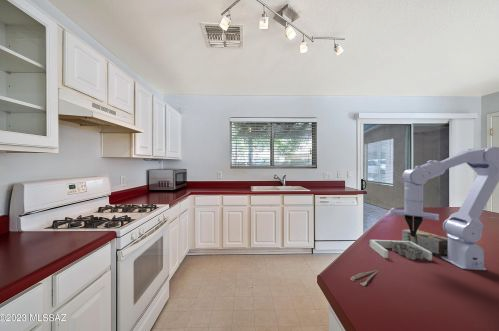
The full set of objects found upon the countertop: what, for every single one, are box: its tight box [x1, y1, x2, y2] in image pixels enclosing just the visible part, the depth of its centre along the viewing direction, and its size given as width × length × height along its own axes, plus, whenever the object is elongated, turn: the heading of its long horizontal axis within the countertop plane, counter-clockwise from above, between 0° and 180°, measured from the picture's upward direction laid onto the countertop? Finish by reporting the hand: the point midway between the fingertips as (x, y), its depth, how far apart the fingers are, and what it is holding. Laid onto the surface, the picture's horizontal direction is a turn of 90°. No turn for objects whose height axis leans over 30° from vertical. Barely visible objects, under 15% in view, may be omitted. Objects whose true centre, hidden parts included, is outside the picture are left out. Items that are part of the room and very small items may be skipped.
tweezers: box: [350, 269, 379, 287], centre depth 70 cm, size 17×5×2 cm, turn 125°
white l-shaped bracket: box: [368, 239, 433, 261], centre depth 88 cm, size 12×17×3 cm
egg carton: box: [390, 241, 426, 261], centre depth 87 cm, size 11×8×4 cm
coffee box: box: [401, 228, 448, 258], centre depth 92 cm, size 9×6×16 cm
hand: (413, 235), depth 81 cm, fingers closed
